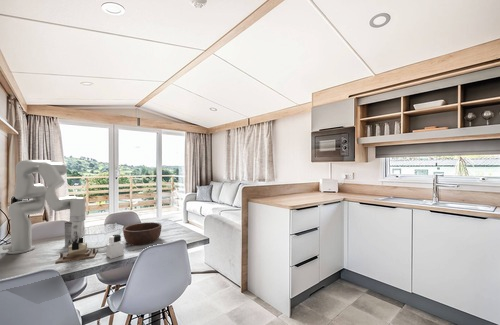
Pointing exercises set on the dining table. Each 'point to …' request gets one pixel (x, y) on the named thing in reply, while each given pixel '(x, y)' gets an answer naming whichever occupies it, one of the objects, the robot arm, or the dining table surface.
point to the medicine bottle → (114, 247)
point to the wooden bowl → (142, 233)
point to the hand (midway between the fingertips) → (77, 247)
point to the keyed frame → (76, 256)
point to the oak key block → (81, 249)
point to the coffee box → (68, 233)
